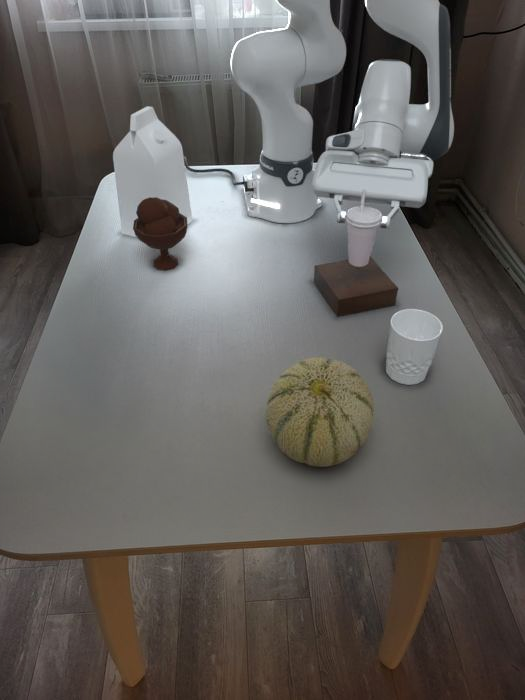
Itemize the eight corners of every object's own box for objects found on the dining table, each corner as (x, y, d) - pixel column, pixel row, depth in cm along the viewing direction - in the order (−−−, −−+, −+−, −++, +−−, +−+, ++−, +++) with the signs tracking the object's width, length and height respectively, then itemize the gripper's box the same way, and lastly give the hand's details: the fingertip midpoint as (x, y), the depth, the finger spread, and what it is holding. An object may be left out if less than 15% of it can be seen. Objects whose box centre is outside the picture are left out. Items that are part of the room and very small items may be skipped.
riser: (313, 282, 112) (314, 265, 109) (367, 272, 115) (369, 255, 112) (337, 317, 103) (339, 299, 101) (395, 305, 106) (398, 288, 103)
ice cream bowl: (183, 280, 112) (175, 212, 103) (131, 274, 114) (119, 206, 104) (198, 253, 120) (192, 187, 110) (149, 247, 122) (139, 182, 112)
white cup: (372, 362, 94) (381, 315, 87) (412, 350, 96) (423, 304, 89) (398, 393, 88) (409, 345, 82) (439, 380, 90) (453, 332, 84)
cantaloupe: (339, 398, 88) (349, 323, 78) (386, 469, 77) (404, 394, 67) (251, 422, 84) (249, 347, 74) (287, 501, 73) (291, 426, 63)
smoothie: (349, 249, 107) (356, 179, 98) (380, 257, 105) (391, 187, 96) (335, 264, 103) (342, 194, 94) (368, 274, 101) (378, 202, 91)
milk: (151, 211, 135) (135, 98, 118) (192, 220, 131) (182, 106, 114) (122, 233, 127) (100, 116, 110) (165, 244, 123) (149, 124, 106)
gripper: (433, 162, 100) (420, 237, 99) (321, 151, 104) (308, 223, 103) (437, 147, 94) (424, 226, 93) (318, 136, 98) (304, 212, 97)
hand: (362, 225), depth 98 cm, fingers closed on smoothie, 6 cm apart
